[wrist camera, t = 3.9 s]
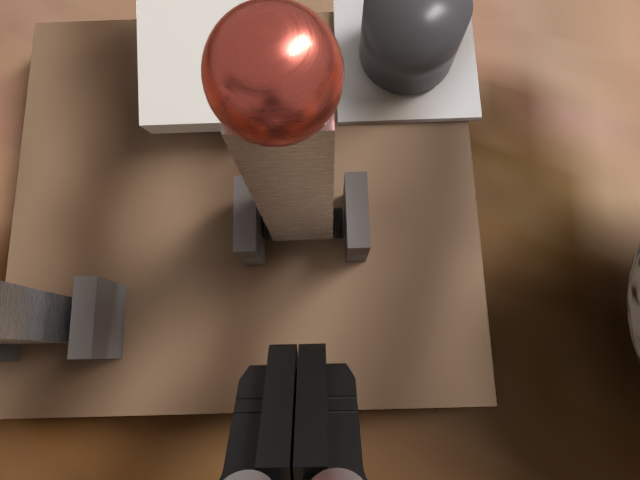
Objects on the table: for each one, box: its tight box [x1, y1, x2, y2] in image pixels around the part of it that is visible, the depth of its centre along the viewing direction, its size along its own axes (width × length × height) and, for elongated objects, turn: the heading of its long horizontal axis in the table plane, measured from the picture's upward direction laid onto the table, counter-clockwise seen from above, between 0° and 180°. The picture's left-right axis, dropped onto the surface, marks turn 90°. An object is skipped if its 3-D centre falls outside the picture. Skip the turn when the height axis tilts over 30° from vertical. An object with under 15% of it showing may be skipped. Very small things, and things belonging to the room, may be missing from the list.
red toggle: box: [201, 0, 345, 241], centre depth 14 cm, size 3×3×12 cm
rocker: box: [136, 0, 248, 134], centre depth 20 cm, size 4×6×1 cm
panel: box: [0, 0, 497, 419], centre depth 20 cm, size 20×18×5 cm
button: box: [359, 0, 473, 95], centre depth 20 cm, size 4×4×3 cm
